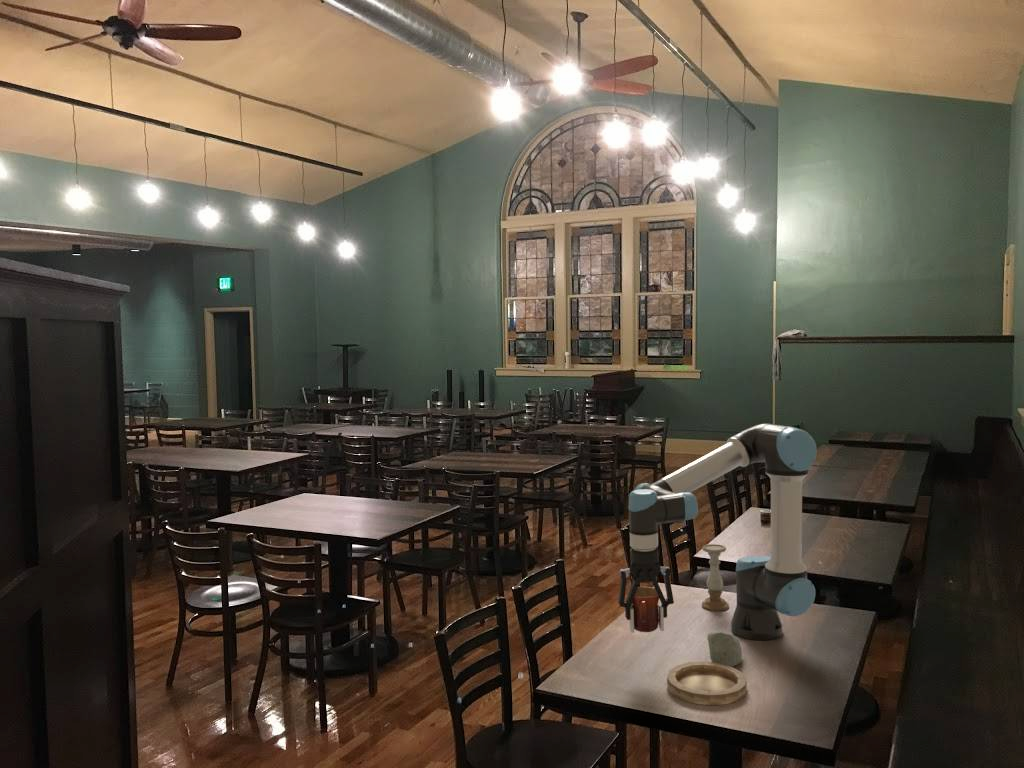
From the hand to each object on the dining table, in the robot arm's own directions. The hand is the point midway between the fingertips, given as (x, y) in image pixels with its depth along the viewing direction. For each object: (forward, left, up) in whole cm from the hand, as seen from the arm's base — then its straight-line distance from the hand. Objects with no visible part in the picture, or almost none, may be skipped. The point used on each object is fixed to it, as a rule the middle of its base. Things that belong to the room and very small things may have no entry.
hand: (646, 629), depth 228 cm
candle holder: (-34, -49, -13) cm, 61 cm away
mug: (0, 0, 0) cm, 1 cm away
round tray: (-14, +10, -13) cm, 21 cm away
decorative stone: (-24, -6, -13) cm, 28 cm away
